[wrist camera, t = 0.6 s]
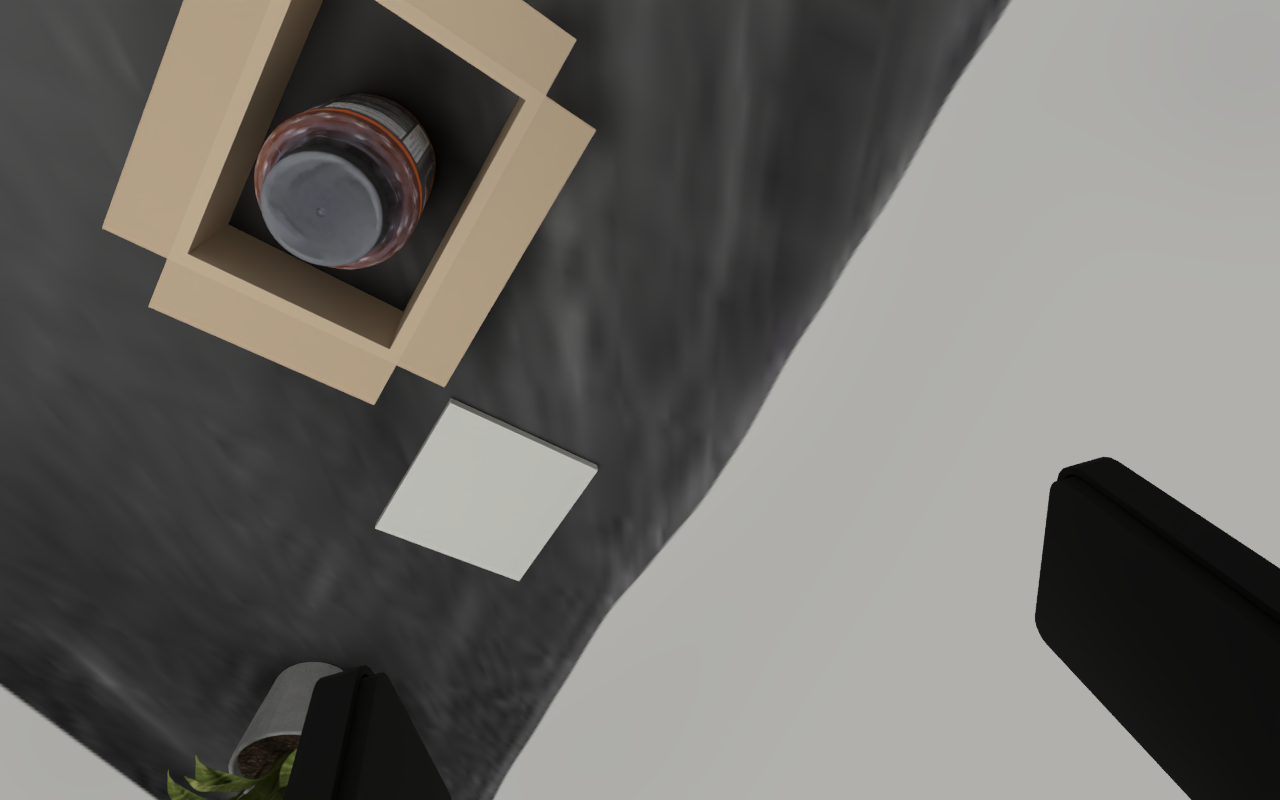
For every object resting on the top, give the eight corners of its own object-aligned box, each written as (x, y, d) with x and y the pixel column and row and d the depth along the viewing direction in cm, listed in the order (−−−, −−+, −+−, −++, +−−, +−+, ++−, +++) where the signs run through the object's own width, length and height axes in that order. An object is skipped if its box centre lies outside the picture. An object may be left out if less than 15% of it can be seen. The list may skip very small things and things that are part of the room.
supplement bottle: (398, 242, 36) (357, 326, 26) (284, 170, 34) (192, 233, 24) (461, 144, 34) (443, 195, 24) (347, 61, 32) (275, 80, 22)
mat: (450, 397, 40) (449, 402, 40) (596, 465, 44) (598, 470, 44) (376, 522, 44) (374, 528, 43) (518, 575, 47) (518, 581, 47)
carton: (293, -162, 28) (253, -195, 24) (612, 69, 34) (627, 76, 29) (138, 245, 34) (83, 278, 30) (431, 381, 40) (421, 426, 35)
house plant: (431, 600, 47) (398, 849, 33) (442, 736, 54) (418, 993, 40) (199, 613, 45) (56, 889, 31) (239, 754, 51) (136, 1036, 37)
